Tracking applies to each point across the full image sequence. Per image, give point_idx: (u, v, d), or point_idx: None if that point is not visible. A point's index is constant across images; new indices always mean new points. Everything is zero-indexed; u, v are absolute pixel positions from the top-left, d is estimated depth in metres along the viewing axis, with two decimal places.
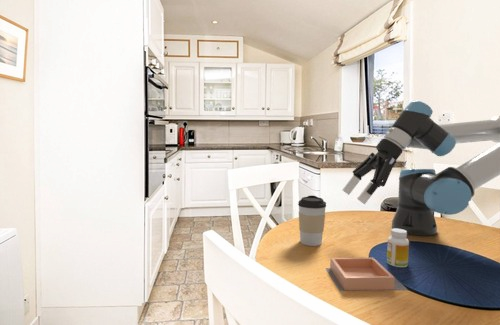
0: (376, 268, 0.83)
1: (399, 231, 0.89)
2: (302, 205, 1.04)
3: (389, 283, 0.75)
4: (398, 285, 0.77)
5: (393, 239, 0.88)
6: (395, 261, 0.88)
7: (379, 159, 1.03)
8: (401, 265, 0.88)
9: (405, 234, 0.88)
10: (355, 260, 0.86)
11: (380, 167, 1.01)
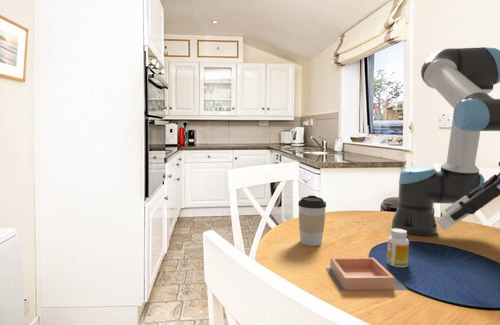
0: (376, 268, 0.83)
1: (399, 231, 0.89)
2: (302, 205, 1.04)
3: (389, 283, 0.75)
4: (398, 285, 0.77)
5: (393, 239, 0.88)
6: (395, 261, 0.88)
7: None
8: (401, 265, 0.88)
9: (405, 234, 0.88)
10: (355, 260, 0.86)
11: None
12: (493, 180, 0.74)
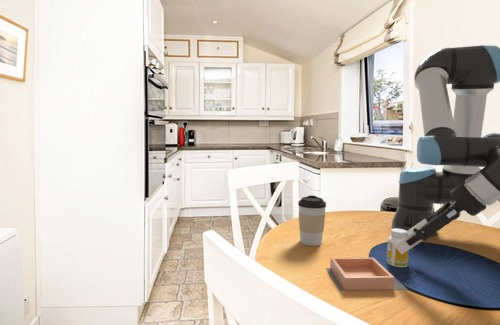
0: (376, 268, 0.83)
1: (399, 231, 0.89)
2: (302, 205, 1.04)
3: (389, 283, 0.75)
4: (398, 285, 0.77)
5: (393, 239, 0.88)
6: (395, 261, 0.88)
7: None
8: (401, 265, 0.88)
9: (405, 234, 0.88)
10: (355, 260, 0.86)
11: None
12: (445, 208, 0.79)
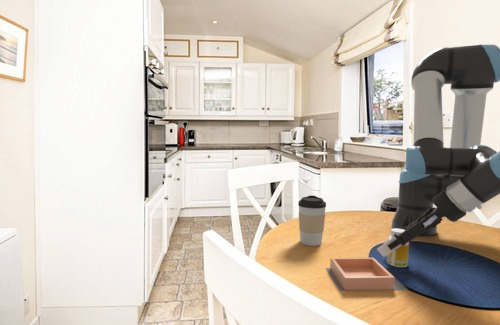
0: (376, 268, 0.83)
1: (399, 231, 0.89)
2: (302, 205, 1.04)
3: (389, 283, 0.75)
4: (398, 285, 0.77)
5: None
6: (395, 261, 0.88)
7: None
8: (401, 265, 0.88)
9: None
10: (355, 260, 0.86)
11: None
12: (426, 215, 0.83)
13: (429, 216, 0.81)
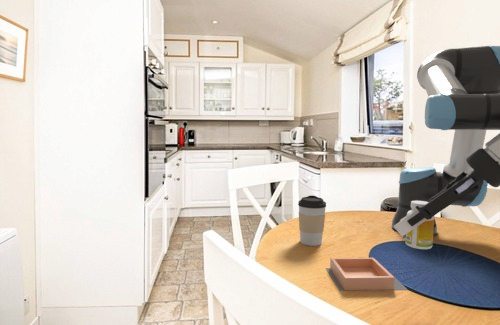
0: (376, 268, 0.83)
1: (422, 203, 0.70)
2: (302, 205, 1.04)
3: (389, 283, 0.75)
4: (398, 285, 0.77)
5: None
6: (417, 240, 0.69)
7: None
8: (425, 246, 0.69)
9: None
10: (355, 260, 0.86)
11: None
12: (458, 179, 0.65)
13: (463, 180, 0.63)
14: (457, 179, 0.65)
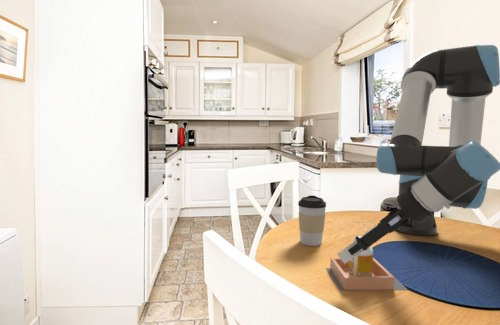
0: (376, 268, 0.83)
1: None
2: (302, 205, 1.04)
3: (389, 283, 0.75)
4: (398, 285, 0.77)
5: None
6: (357, 273, 0.78)
7: None
8: None
9: None
10: None
11: None
12: (390, 214, 0.73)
13: None
14: None
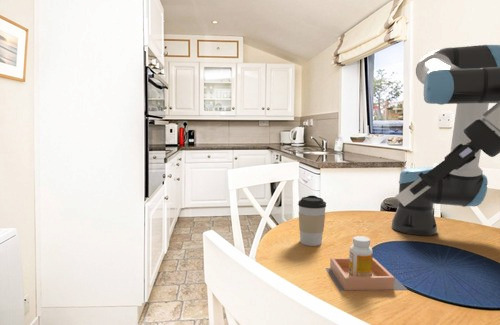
0: (376, 268, 0.83)
1: (361, 239, 0.79)
2: (302, 205, 1.04)
3: (389, 283, 0.75)
4: (398, 285, 0.77)
5: (355, 249, 0.79)
6: (357, 273, 0.78)
7: None
8: None
9: (368, 243, 0.78)
10: None
11: None
12: (457, 149, 0.66)
13: None
14: None
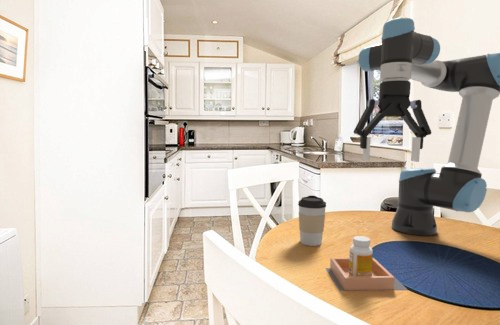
0: (376, 268, 0.83)
1: (361, 239, 0.79)
2: (302, 205, 1.04)
3: (389, 283, 0.75)
4: (398, 285, 0.77)
5: (355, 249, 0.79)
6: (357, 273, 0.78)
7: None
8: None
9: (368, 243, 0.78)
10: None
11: None
12: None
13: None
14: None
